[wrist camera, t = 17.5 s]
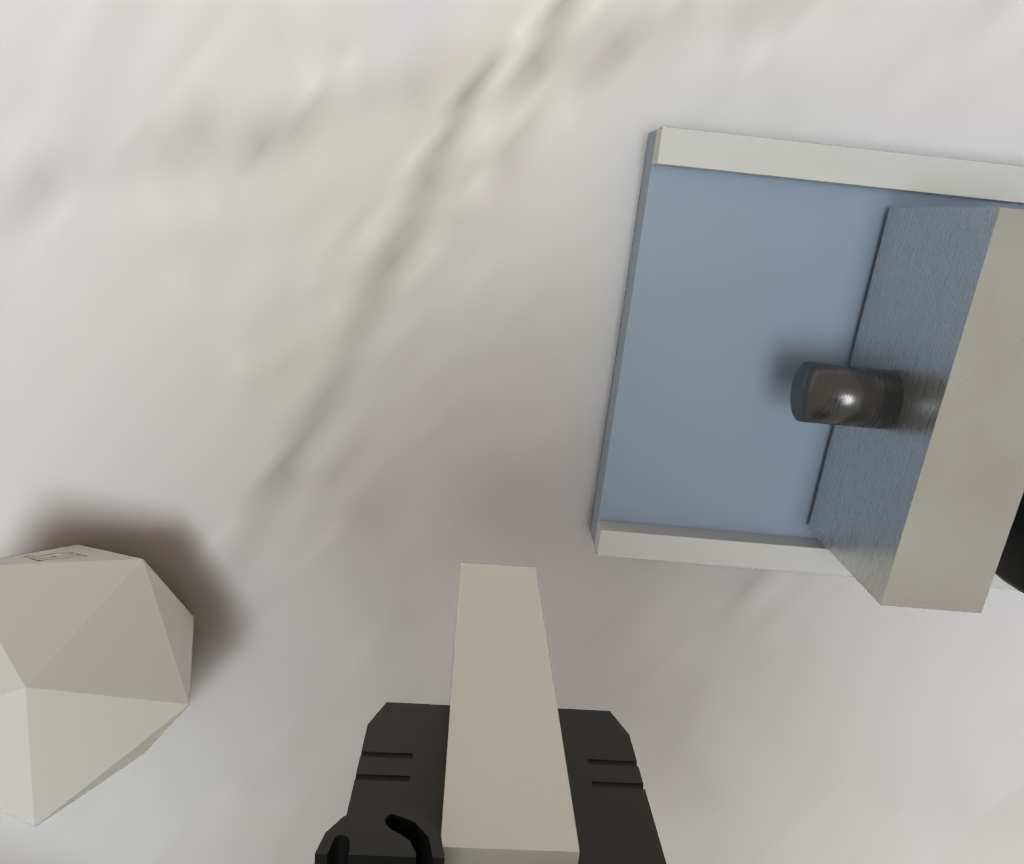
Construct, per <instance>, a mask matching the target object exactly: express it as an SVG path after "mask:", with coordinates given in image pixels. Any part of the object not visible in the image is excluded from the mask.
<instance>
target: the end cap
mask: <svg viewBox="0 0 1024 864" xmlns="http://www.w3.org/2000/svg"><path fill="white" fill-rule="evenodd" d="M995 574H996V575H997V576H998V577H1000V578H1001V579H1002V580H1003V581H1004V582H1006V583H1008V584H1009V585H1011V586H1012V587H1014V588H1015V589H1017V590H1018V591H1020V592H1022V593H1024V492H1023V495H1022V498H1021V501H1020V504H1019V507H1018V509H1017V512H1016V515H1015V518H1014V521H1013V524H1012V526H1011V529H1010V532H1009V535H1008V538H1007V541H1006V543H1005V546H1004V549H1003V552H1002V555H1001V558H1000V560H999V563H998V566H997V569H996V572H995Z"/></svg>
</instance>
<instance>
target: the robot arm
mask: <svg viewBox="0 0 1024 864" xmlns="http://www.w3.org/2000/svg"><path fill="white" fill-rule="evenodd" d="M315 864H666V861H665V858H664V854H663V851H662V847H661V844H660V840H659V837H658V833H657V830H656V827H655V823H654V820H653V816H652V813H651V809H650V806H649V802H648V799H647V795H646V792H645V789H643V781H642V778H641V774H640V771H639V768H638V766H637V761H636V757H635V754H634V750H633V747H632V743H631V740H630V736H629V734H628V733H627V732H626V730H625V729H624V728H623V727H622V725H621V724H620V723H619V722H618V721H617V719H616V718H615V717H614V716H613V715H612V713H611V712H610V711H597V710H577V709H558V708H557V701H556V695H555V689H554V682H553V676H552V669H551V663H550V656H549V650H548V643H547V637H546V630H545V624H544V617H543V611H542V604H541V598H540V591H539V585H538V578H537V572H536V567H521V566H505V565H489V564H473V563H460V576H459V589H458V602H457V616H456V629H455V642H454V656H453V669H452V682H451V696H450V705H431V704H411V703H391V702H386V704H385V705H384V706H383V707H382V708H381V710H380V711H379V712H378V713H377V714H376V715H375V717H374V718H373V719H372V720H371V721H370V723H369V724H368V726H367V731H366V735H365V739H364V743H363V748H362V753H361V757H360V760H359V765H358V769H357V773H356V780H355V782H354V786H353V790H352V795H351V799H350V803H349V807H348V812H347V816H344V817H343V818H341V819H340V820H339V821H338V822H337V823H336V824H335V825H334V826H333V827H332V828H330V829H329V830H328V831H327V832H326V833H325V835H324V837H323V839H322V841H321V843H320V845H319V847H318V849H317V851H316V853H315Z"/></svg>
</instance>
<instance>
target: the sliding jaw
mask: <svg viewBox="0 0 1024 864" xmlns="http://www.w3.org/2000/svg"><path fill="white" fill-rule="evenodd" d="M790 405H791V411H792V414H793V416H794V418H795V419H796V420H797V421H799V422H808V423H818V424H829V425H834V429H833V433H832V436H831V440H830V444H829V448H828V452H827V456H826V460H825V464H824V468H823V472H822V476H821V480H820V484H819V488H818V492H817V496H816V499H815V503H814V507H813V511H812V515H811V519H810V523H809V527H808V529H809V530H810V531H811V532H812V533H813V534H814V535H815V536H816V537H817V539H818V540H819V541H820V542H821V543H822V544H823V545H824V546H825V547H826V548H827V549H828V550H829V551H830V552H831V553H832V554H833V555H834V556H835V557H836V558H837V560H838V561H839V562H840V563H841V564H842V565H843V566H844V567H845V568H846V569H847V570H848V571H849V572H850V573H851V574H852V575H853V576H854V577H855V578H856V579H857V580H858V582H859V583H860V584H861V585H862V586H863V587H864V588H865V589H866V590H867V591H868V592H869V593H870V594H871V595H872V596H873V597H874V598H875V599H876V600H877V601H878V603H879V604H880V605H887V606H900V607H912V608H924V609H937V610H949V611H962V612H974V613H981V611H982V609H983V606H984V603H985V600H986V597H987V594H988V592H989V589H990V586H991V583H992V580H993V577H994V575H995V572H996V569H997V566H998V563H999V560H1000V558H1001V555H1002V552H1003V549H1004V546H1005V543H1006V541H1007V538H1008V535H1009V532H1010V529H1011V526H1012V524H1013V521H1014V518H1015V515H1016V512H1017V509H1018V507H1019V504H1020V501H1021V498H1022V495H1023V492H1024V210H1021V209H1012V208H1003V207H890V208H889V212H888V216H887V220H886V224H885V228H884V232H883V236H882V240H881V243H880V247H879V251H878V255H877V259H876V263H875V267H874V271H873V275H872V279H871V283H870V287H869V291H868V295H867V299H866V303H865V306H864V310H863V314H862V318H861V322H860V326H859V330H858V334H857V338H856V342H855V346H854V350H853V354H852V358H851V362H850V366H849V365H839V364H829V363H818V362H804V363H803V364H802V365H801V366H800V367H799V368H798V370H797V371H796V374H795V376H794V379H793V382H792V386H791V393H790Z"/></svg>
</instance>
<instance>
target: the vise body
mask: <svg viewBox="0 0 1024 864" xmlns="http://www.w3.org/2000/svg"><path fill="white" fill-rule="evenodd" d="M890 207H1003V208H1012V209H1021V210H1024V167H1023V166H1014V165H1005V164H996V163H987V162H978V161H969V160H960V159H951V158H942V157H933V156H924V155H915V154H906V153H897V152H888V151H878V150H869V149H860V148H851V147H842V146H833V145H824V144H815V143H806V142H797V141H788V140H779V139H770V138H761V137H752V136H743V135H734V134H725V133H716V132H707V131H698V130H688V129H679V128H670V127H661V128H659V129H657V130H655V131H653V132H651V133H649V137H648V143H647V150H646V157H645V164H644V170H643V177H642V184H641V191H640V198H639V204H638V211H637V218H636V225H635V231H634V238H633V245H632V252H631V259H630V265H629V272H628V279H627V286H626V292H625V299H624V306H623V313H622V320H621V326H620V333H619V340H618V347H617V353H616V360H615V367H614V374H613V381H612V387H611V394H610V401H609V408H608V414H607V421H606V428H605V435H604V442H603V448H602V455H601V462H600V469H599V475H598V482H597V489H596V496H595V502H594V509H593V516H592V523H591V530H590V531H591V535H592V538H593V542H594V546H595V549H596V553H597V556H607V557H619V558H632V559H644V560H656V561H668V562H680V563H692V564H704V565H716V566H729V567H741V568H753V569H765V570H777V571H789V572H801V573H813V574H826V575H838V576H850V577H854V576H853V575H852V574H851V573H850V572H849V571H848V570H847V569H846V568H845V567H844V566H843V565H842V564H841V563H840V562H839V561H838V560H837V558H836V557H835V556H834V555H833V554H832V553H831V552H830V551H829V550H828V549H827V548H826V547H825V546H824V545H823V544H822V543H821V542H820V541H819V540H818V539H817V537H816V536H815V535H814V534H813V533H812V532H811V531H810V530H809V529H808V527H809V523H810V519H811V515H812V511H813V507H814V503H815V499H816V496H817V492H818V488H819V484H820V480H821V476H822V472H823V468H824V464H825V460H826V456H827V452H828V448H829V444H830V440H831V436H832V433H833V429H834V425H829V424H818V423H808V422H799V421H797V420H796V419H795V418H794V416H793V414H792V411H791V405H790V393H791V386H792V382H793V379H794V376H795V374H796V371H797V370H798V368H799V367H800V366H801V365H802V364H803V363H804V362H818V363H829V364H839V365H849V366H850V362H851V358H852V354H853V350H854V346H855V342H856V338H857V334H858V330H859V326H860V322H861V318H862V314H863V310H864V306H865V303H866V299H867V295H868V291H869V287H870V283H871V279H872V275H873V271H874V267H875V263H876V259H877V255H878V251H879V247H880V243H881V240H882V236H883V232H884V228H885V224H886V220H887V216H888V212H889V208H890ZM990 588H995V589H1007V590H1017V589H1015V588H1014V587H1012V586H1011V585H1009V584H1008V583H1006V582H1004V581H1003V580H1002V579H1001V578H1000V577H998V576H997V575H996V574H995V575H994V577H993V580H992V583H991V586H990Z"/></svg>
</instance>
